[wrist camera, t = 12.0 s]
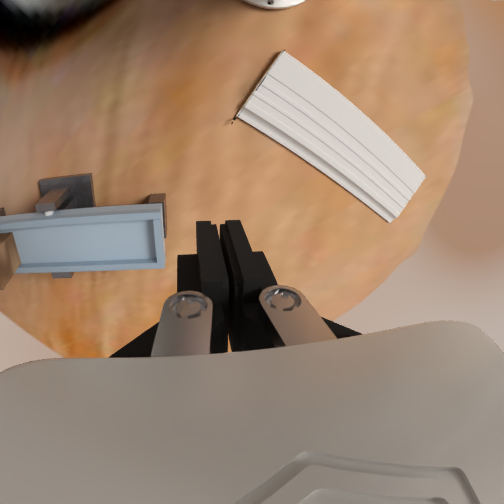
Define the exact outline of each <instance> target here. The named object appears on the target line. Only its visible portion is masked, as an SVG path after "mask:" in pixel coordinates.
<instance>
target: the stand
mask: <svg viewBox="0 0 504 504" xmlns="http://www.w3.org/2000/svg"><path fill="white" fill-rule="evenodd" d="M39 184H40V190H41V196H42V198H41V199H40V200H39V201H38V202H37V203H36V204H35V209H36V212H42V211H52V210H53V211H56V210H67V209H79V208H92V207H96V205H95V198H94V190H93V181H92V173H88V174H78V175H69V176H61V177H53V178H45V179H41V180H39ZM158 203H162V214H163V229H164V238H166V235H167V215H166V194H165V193H164V194H151V195H150V198H149V201H148V204H158ZM0 216H6V215H5V211H4V208H0ZM51 273H52V276H53V278H72V276H73V273H74V272H51Z"/></svg>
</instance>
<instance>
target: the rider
mask: <svg viewBox="0 0 504 504" xmlns="http://www.w3.org/2000/svg"><path fill="white" fill-rule="evenodd" d="M20 264H21V260H20V257H19V253H18V250H17V247H16V243H15V240H14V236H13V232H8V233H0V290H3V289H4V288H5V286H6V285H7V283H8V282H9V280H10V279H11V277H12V276H13V274H14V273H15V271H16V270H17V268H18V267H19V265H20Z"/></svg>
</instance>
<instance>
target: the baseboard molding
mask: <svg viewBox="0 0 504 504" xmlns="http://www.w3.org/2000/svg"><path fill="white" fill-rule="evenodd" d="M236 116H237V117H239V118H240V119H242V120H244V121H245V122H247V123H249V124H250V125H252V126H253V127H255V128H257V129H258V130H260V131H262V132H263V133H265V134H266V135H268V136H270V137H271V138H273V139H274V140H276V141H277V142H279V143H280V144H282V145H284V146H285V147H287V148H288V149H290V150H291V151H293V152H294V153H296V154H297V155H299V156H300V157H302V158H303V159H304V160H306V161H307V162H309V163H310V164H312V165H313V166H315V167H316V168H318V169H319V170H320V171H322V172H323V173H325V174H326V175H327V176H329V177H330V178H332V179H333V180H334V181H336V182H337V183H338V184H340V185H341V186H343V187H344V188H345V189H347V190H348V191H349V192H351V193H352V194H353V195H355V196H356V197H357V198H359V199H360V200H361V201H362V202H364V203H365V204H366V205H368V206H369V207H370V208H371V209H373V210H374V211H375V212H377V213H378V214H379V215H380V216H382V217H383V218H384V219H385V220H387V221H388V222H389V223H391V222H392V220H393V219H395V218H397V217H398V216H399V215H400V213H401V211H402V210H403V209H404V208H405V206H406V204H407V203H408V201H409V200H410V199H411V197H412V196H413V194H414V193H415V192H416V190H417V189H418V187H419V186H420V184H421V183H422V181H423V180H424V178H425V177H426V176H425V174H424V173H423V172H422V171H421V170H420V169H419V168H418V167H417V166H416V165H415V163H414V162H413V161H412V160H411V159H410V158H409V157H408V156H407V155H406V154H405V153H404V152H403V151H402V150H401V149H400V148H399V147H398V146H397V145H396V144H395V143H394V142H393V141H392V140H391V139H390V138H389V137H388V136H387V135H386V134H385V133H384V132H383V131H382V130H381V129H380V128H379V127H378V126H377V125H376V124H375V123H374V122H372V121H371V120H370V119H369V118H368V117H367V116H366V115H365V114H364V113H363V112H361V111H360V110H359V109H358V108H357V107H356V106H355V105H353V104H352V103H351V102H350V101H349V100H348V99H346V98H345V97H344V96H343V95H342V94H340V93H339V92H338V91H337V90H336V89H334V88H333V87H332V86H331V85H329V84H328V83H327V82H326V81H324V80H323V79H322V78H320V77H319V76H318V75H317V74H315V73H314V72H313V71H311V70H310V69H309V68H307V67H306V66H305V65H303V64H302V63H300V62H299V61H298V60H296V59H295V58H293V57H292V56H291V55H289V54H288V53H286V52H285V50H284V51H281V52H280V53H279V54H278V56H277V57H276V58H275V60H274V61H273V63H272V64H271V65H270V67H269V68H268V69H267V71H266V72H265V74H264V75H263V77H262V78H261V79H260V81H259V82H258V84H257V85H256V87H255V88H254V89H253V91H252V92H251V94H250V95H249V97H248V98H247V100H246V101H245V103H244V104H243V106H242V107H241V109H240V110H239V112H238V113H237V115H236ZM235 119H236V118H235V117H234V119H233V120H235ZM231 123H233V122H231Z"/></svg>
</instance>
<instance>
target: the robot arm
mask: <svg viewBox="0 0 504 504" xmlns="http://www.w3.org/2000/svg"><path fill="white" fill-rule="evenodd" d="M243 1H245V2H247V3H249V4H251V5H254V6H257V7H261V8H266V9H286V8H291V7H294V6H297V5H299V4H301V3H303V2H305V1H306V0H243ZM267 2H270V5H269V4H268V3H267ZM196 239H197V254H189V255H178V257H177V293H175V294H173V295H171V296H170V297H169V298H168V299H167V300H166V301H165V303H164V306H163V309H162V313H161V317H160V321H159V322H158V323H157V324H155V325H154V326H152V327H151V328H150V329H148V330H147V331H145V332H144V333H142V334H141V335H140V336H138V337H137V338H135V339H134V340H133V341H131V342H130V343H128V344H127V345H125V346H124V347H123V348H121V349H120V350H118V351H117V352H115V353H114V354H113V355H111V356H110V357H109V358H53V359H42V360H36V361H30V362H26V363H23V364H19V365H16V366H13V367H11V368H8V369H6V370H4V371H2V372H0V504H504V352H503V351H502V350H501V349H500V348H499V347H498V345H497V344H496V343H495V342H494V341H493V340H492V339H491V338H490V337H489V336H488V335H487V334H486V333H485V332H483V331H482V330H481V329H480V328H478V327H477V326H475V325H472V324H468V323H464V322H459V321H433V322H425V323H420V324H414V325H409V326H403V327H398V328H394V329H389V330H384V331H379V332H374V333H368V334H361V333H359V332H356V331H354V330H351V329H349V328H347V327H344V326H342V325H339V324H337V323H334V322H332V321H330V320H327V319H325V318H323V317H320V315H319V314H318V313H317V312H316V310H315V309H314V308H313V306H312V305H311V304H310V303H309V301H308V300H307V299H306V297H305V296H304V295H303V294H302V293H301V292H300V291H298V290H297V289H295V288H292V287H289V286H283V285H278V284H277V281H276V279H275V277H274V275H273V273H272V270H271V268H270V266H269V264H268V261H267V259H266V257H265V255H264V253H263V252H262V251H258V252H252V249H251V247H250V244H249V242H248V239H247V237H246V234H245V231H244V229H243V226H242V224H241V221H240V220H226V221H225V224H220V240H219V235H218V231H217V226H216V224H214V225H211V221H196ZM228 336H229V341H230V345H231V350H232V352H231V353H226V352H228Z"/></svg>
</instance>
